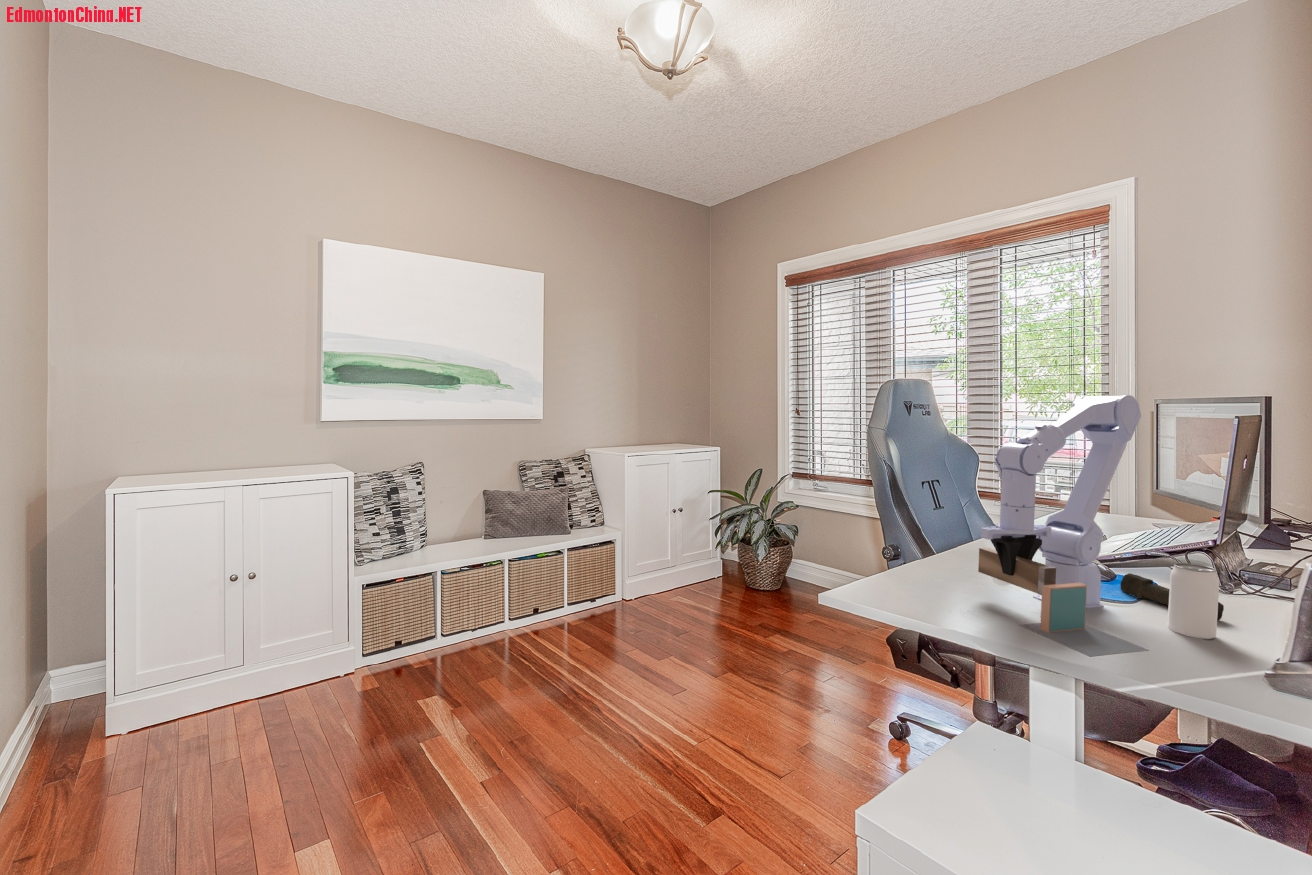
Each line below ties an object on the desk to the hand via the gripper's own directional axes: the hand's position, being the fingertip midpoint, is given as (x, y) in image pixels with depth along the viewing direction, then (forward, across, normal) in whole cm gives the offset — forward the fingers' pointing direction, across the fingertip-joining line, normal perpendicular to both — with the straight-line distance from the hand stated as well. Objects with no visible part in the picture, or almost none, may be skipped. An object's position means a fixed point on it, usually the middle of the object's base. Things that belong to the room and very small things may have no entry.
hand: (1014, 573), depth 117 cm
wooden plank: (+2, 0, 0) cm, 2 cm away
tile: (+7, 0, +11) cm, 13 cm away
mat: (+7, 0, +14) cm, 16 cm away
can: (+8, -22, +16) cm, 29 cm away
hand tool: (+8, -33, +3) cm, 34 cm away
